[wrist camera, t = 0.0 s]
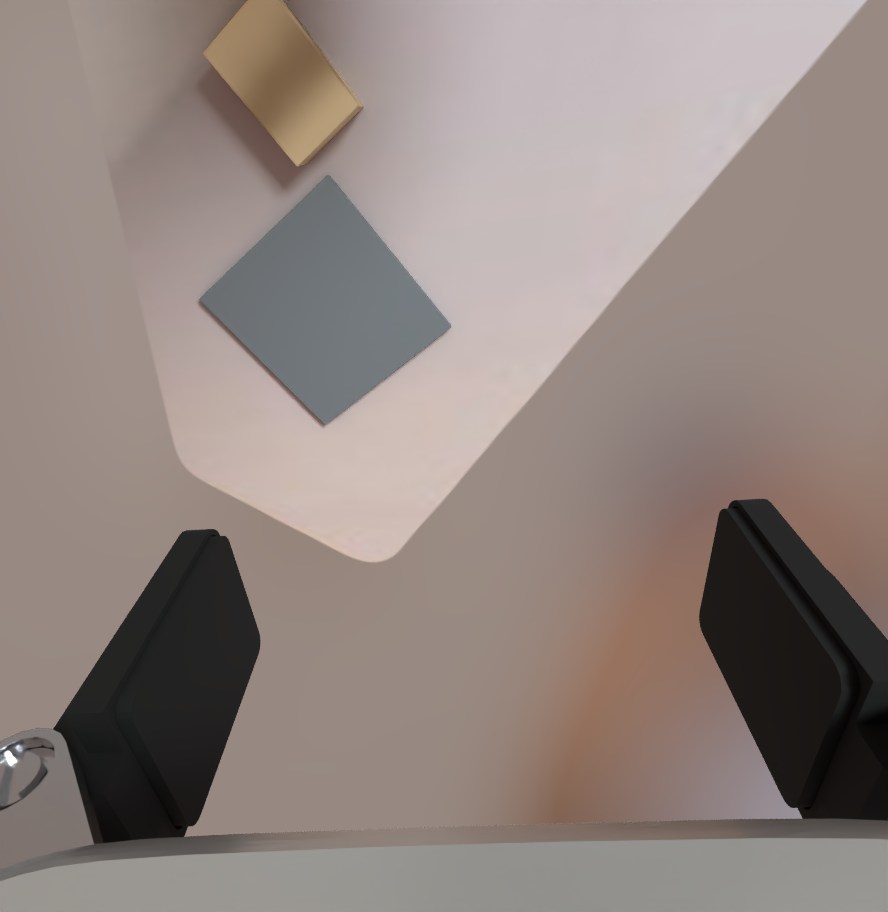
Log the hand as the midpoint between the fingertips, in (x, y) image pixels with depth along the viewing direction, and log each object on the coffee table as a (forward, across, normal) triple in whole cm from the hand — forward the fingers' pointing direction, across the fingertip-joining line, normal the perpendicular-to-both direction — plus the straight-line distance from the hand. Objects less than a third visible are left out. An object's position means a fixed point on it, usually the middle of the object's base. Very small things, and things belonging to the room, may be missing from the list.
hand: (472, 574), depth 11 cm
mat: (+37, +11, +5) cm, 39 cm away
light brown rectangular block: (+38, +10, -10) cm, 40 cm away
